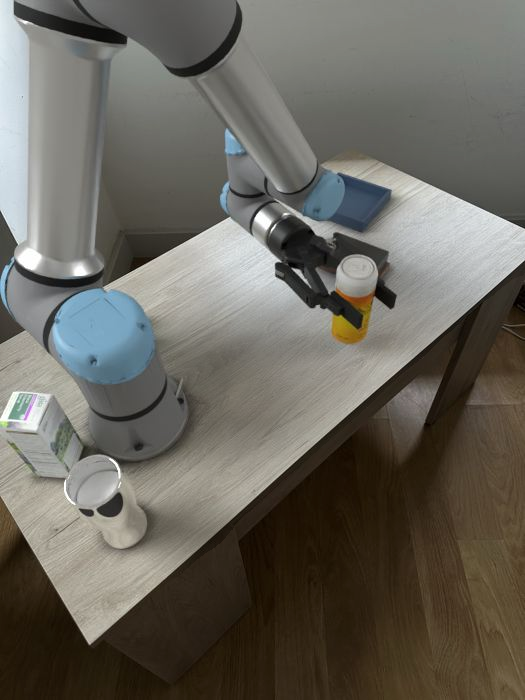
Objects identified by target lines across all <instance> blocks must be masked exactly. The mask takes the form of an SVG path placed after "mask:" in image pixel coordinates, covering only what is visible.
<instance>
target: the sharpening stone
mask: <svg viewBox="0 0 525 700" xmlns="http://www.w3.org/2000/svg"><path fill="white" fill-rule="evenodd" d="M338 233H340V234H341V236H342V237H343V239H344V240H346V241H347V242H349V243H350V244H352V245H353V246H355V247H356V248H358V249H359V250H361V251H362V252H364V253H365V254H367V255H368V256H370V257H371V258H373V259H374V260H375V261H376V268H377V270H378V277H379V278H381V279H382V280H383V277H384V276H385V275H386V273H387V272H388V271H389V269H390V266H391V262H389V261H388V259H389V254H390V251H389V250H386V249H384V248H381V247H378V246H375V245H373V244H370V243H367V242H365V241H362V240H359V239H356V238H354V237H353V236H349V235H347V234H343V233H341V232H340V231H339V232H338ZM335 252H336V251H335ZM317 268H318V269H320V270H323V271H326V272H328V273H329V274H333V275H335V276H336V273H337V270H336V269H334V268H331V267H330V268H326V267H324V266H319V267H317Z"/></svg>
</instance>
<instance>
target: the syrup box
mask: <svg viewBox="0 0 525 700" xmlns="http://www.w3.org/2000/svg"><path fill="white" fill-rule="evenodd" d="M0 436H2V437H3V439H4V440H5V441H6V442H7V443H8V444H9V446H10V447H11V449H13V450H14V452H15V453H16V454H17V455H18V456H19V457H20V459H21V460H23V462H24V464H25V465H26V466H27V467H28V468H29V469H30V470H31V472H32V473H33V475H34V476H36V477H45V478H58V479H59V478H60V479H66V477H67V475H68V473H69V471H70V470H71V468H72V467H73V466H74V465H75V464H76V463H78V462H79V461H80V460H81V459H80V458H81V456H82V453H83V451H84V447H85V443H84V442H83V440H82V439H81V437H80V435H79V433H78V432H77V430H76V429H75V427H74V426H73V424H72V422H71V421H70V419H69V417H68V415H67V414H66V412H65V411H64V409H63V407H62V405H61V404H60V403H59V401H58V399H57V397H56V396H55V394H52V393H44V392H43V393H42V392H33V391H12V394H11V396H10V398H9V400H8V402H7V404H6V405H5V408H4V410H3V413H2V414H1V416H0Z"/></svg>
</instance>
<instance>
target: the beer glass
mask: <svg viewBox="0 0 525 700" xmlns="http://www.w3.org/2000/svg"><path fill="white" fill-rule="evenodd" d="M63 489H64V494H65V496H66V498H67V500H68V501H69V503H70V504H71V506H72V508H73V510H74V511H75V512H76V513H77V516H79V518H81V520H83V522H85V523H86V524H88V525H89V526H91V527H92V528H94V529H96V530H98V531H100V532H101V533H102V537H103V539H104V541H105V542H106V543H107V544H108V545H109V546H110V547H112V548H115V549H118V550H119V549H120V550H122V549H128V548H131V547H134V546H135V545H136V544H138V543H139V542H140V541H141V540H142V539H143V537H144V536H145V534H146V531H147V528H148V519H147V515H146V513H145V511H144V510H143V509H142V508H141V507H140V506H139V505H137V497H136V493H135V489H134V485H133V483H132V481H131V479H130V478H129V476H128V474H127V473H126V472H125V470H124V469H123V468H122V467H121V465H120V464H119V463H118V460H117V459H114V458H112V457H110V456H108V455H106V454H92V455H88V456H86V457H84V458H82V459H79V462H78V463H76V464H75V465H74V466H73V467H72V468H71V470H70V471H69V473H68V475H67V477H66V478H65V480H64V485H63Z"/></svg>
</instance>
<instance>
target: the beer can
mask: <svg viewBox="0 0 525 700" xmlns="http://www.w3.org/2000/svg"><path fill="white" fill-rule="evenodd" d="M377 278H378V270H377V268H376V264H375V262H374V261H373V260H372V259H371V258H369V257H367V256H364V255H350V256H347V257H345V258H344V259H343V260H342V261H341V263H340V265H339V266H338V268H337V273H336V275H335V283H334V284H335V285H334V291H336V292H337V293H338V294H339V295H340V296H341V297H343V298H344V299H345V300H346V301H347V302H349V303H350V304H351V305H352V306H353V307H354V308H356V309H357V310H358V311H359V312H360V313H361V314H363V321H362V327H361V328H360V329H358V330H357V329H356V328H355V327H354V326H353V325H352V324H350V323H349V322H348V321H347V320H346V319H345V318H344V317H343V316H341V315H340V316H336V315H334V314H333V313H332V312H331V321H330V333H331V336H332V337H333V338H334V339H335V340H336V341H338V342H339V343H340V344H343V345H356V344H357V343H360V342H362V341H363V340H364V339H365V338H366V337H367V335H368V330H369V325H370V319H371V313H372V308H373V303H374V299H375V297H374V294H375V288H376V283H377Z"/></svg>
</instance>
